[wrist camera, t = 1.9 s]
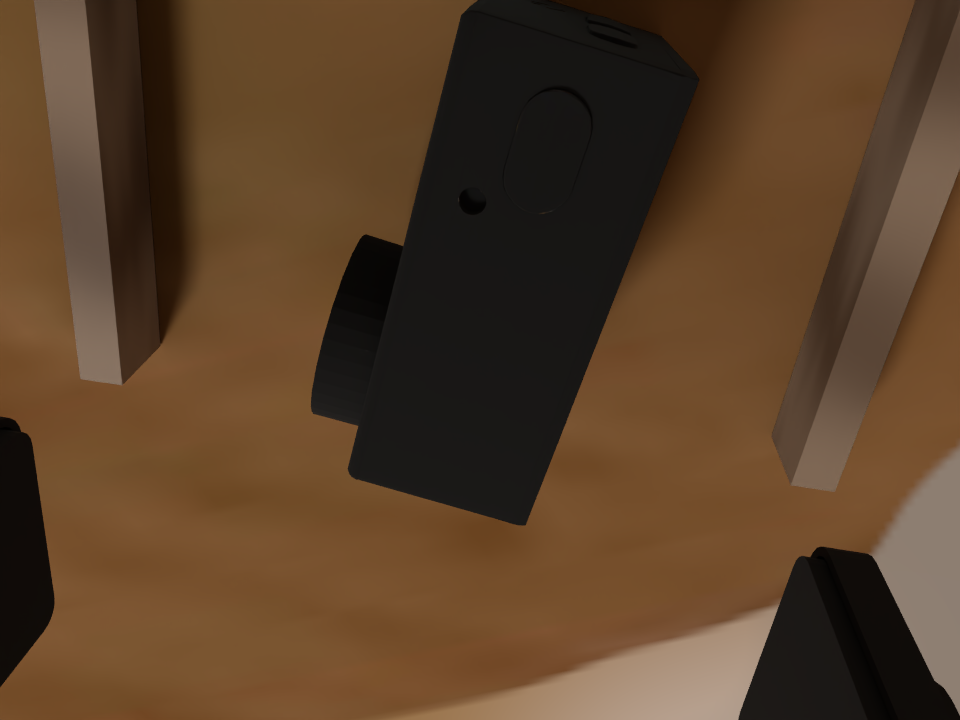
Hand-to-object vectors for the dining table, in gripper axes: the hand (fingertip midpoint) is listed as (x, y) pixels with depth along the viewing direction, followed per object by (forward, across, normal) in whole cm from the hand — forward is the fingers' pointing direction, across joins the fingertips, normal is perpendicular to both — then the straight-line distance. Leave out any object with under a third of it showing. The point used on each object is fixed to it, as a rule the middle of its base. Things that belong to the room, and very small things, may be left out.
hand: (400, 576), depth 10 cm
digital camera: (+15, 0, -1) cm, 15 cm away
